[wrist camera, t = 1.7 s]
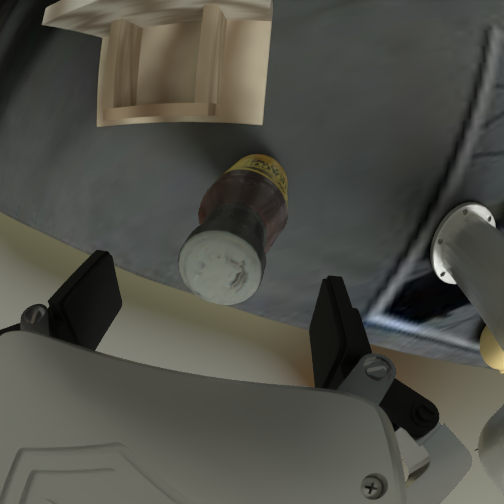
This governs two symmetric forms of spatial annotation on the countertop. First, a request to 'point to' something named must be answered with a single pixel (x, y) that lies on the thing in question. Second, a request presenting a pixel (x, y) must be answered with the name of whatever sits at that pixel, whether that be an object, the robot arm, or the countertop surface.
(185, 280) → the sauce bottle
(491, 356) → the pale yellow rounded lump
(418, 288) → the countertop surface
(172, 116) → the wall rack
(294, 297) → the countertop surface
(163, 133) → the countertop surface
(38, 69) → the countertop surface
